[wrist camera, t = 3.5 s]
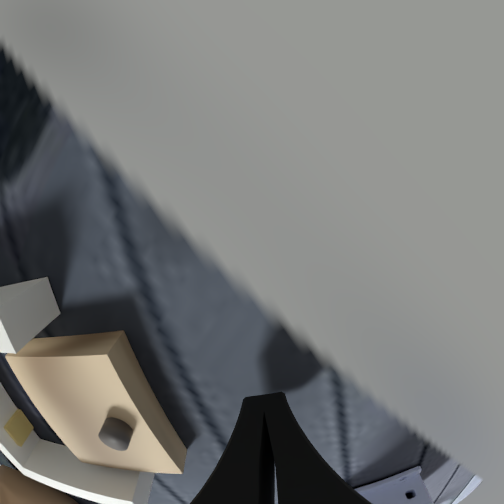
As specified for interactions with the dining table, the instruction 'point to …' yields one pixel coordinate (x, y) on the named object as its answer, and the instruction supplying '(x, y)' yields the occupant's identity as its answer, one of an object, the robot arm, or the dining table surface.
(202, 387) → the dining table surface
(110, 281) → the dining table surface
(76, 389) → the door panel
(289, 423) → the robot arm
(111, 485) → the cabinet frame
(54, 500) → the squash
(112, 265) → the dining table surface
